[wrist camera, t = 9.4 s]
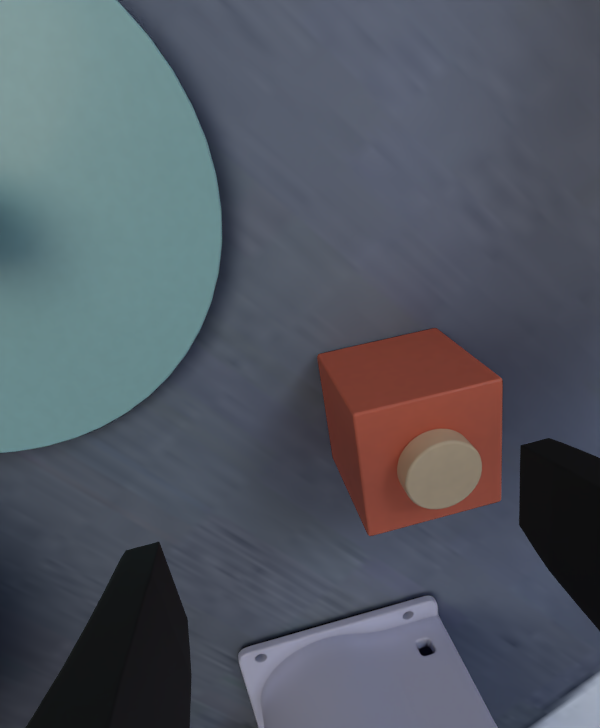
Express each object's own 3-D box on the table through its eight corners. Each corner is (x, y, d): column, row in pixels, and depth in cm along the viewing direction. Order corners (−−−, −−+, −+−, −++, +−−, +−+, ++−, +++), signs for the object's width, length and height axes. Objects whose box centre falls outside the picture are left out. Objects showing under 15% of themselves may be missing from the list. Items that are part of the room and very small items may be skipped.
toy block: (436, 326, 19) (519, 390, 15) (441, 431, 21) (516, 518, 17) (316, 353, 19) (361, 429, 14) (332, 458, 21) (376, 556, 16)
